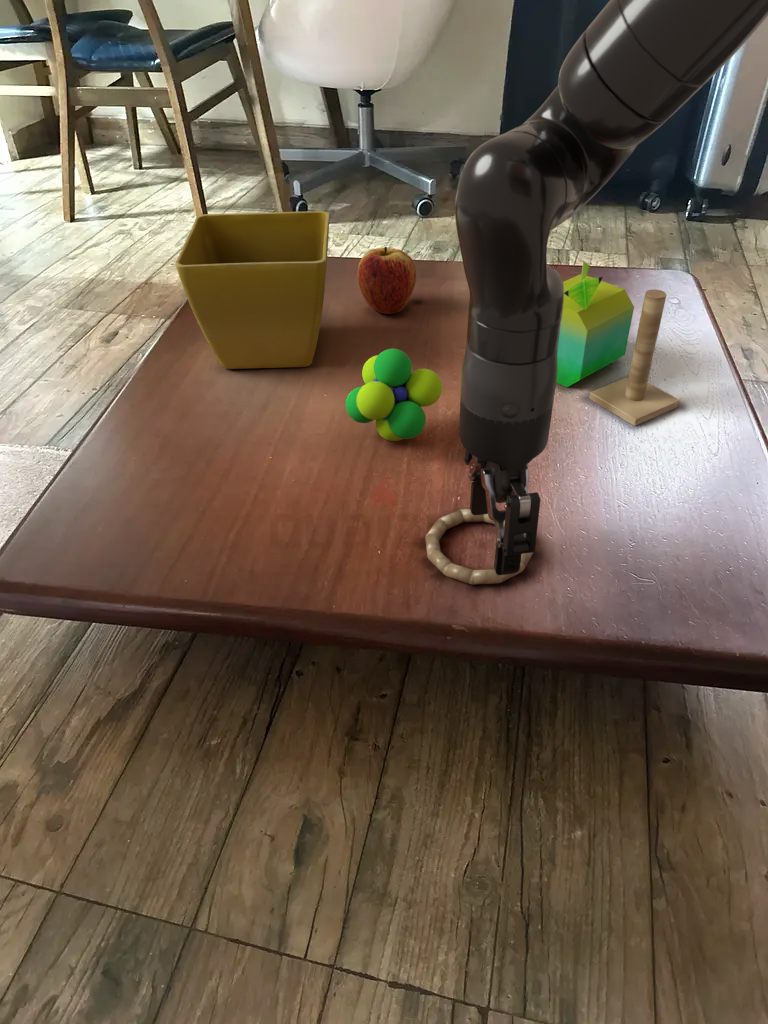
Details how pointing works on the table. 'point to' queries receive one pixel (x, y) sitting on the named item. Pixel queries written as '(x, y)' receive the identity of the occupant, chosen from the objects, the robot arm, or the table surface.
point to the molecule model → (394, 395)
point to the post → (639, 372)
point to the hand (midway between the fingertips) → (493, 540)
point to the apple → (386, 279)
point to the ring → (456, 570)
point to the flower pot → (257, 285)
